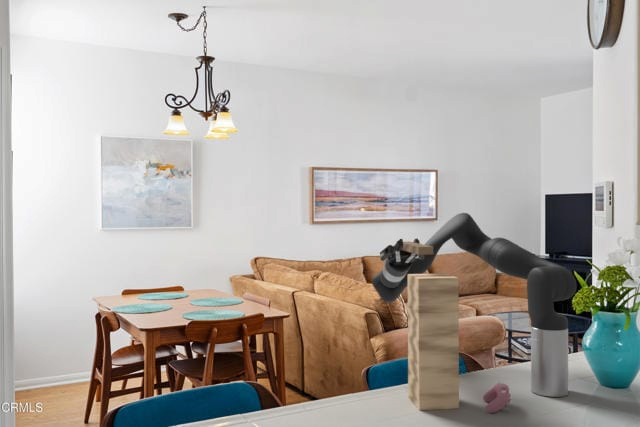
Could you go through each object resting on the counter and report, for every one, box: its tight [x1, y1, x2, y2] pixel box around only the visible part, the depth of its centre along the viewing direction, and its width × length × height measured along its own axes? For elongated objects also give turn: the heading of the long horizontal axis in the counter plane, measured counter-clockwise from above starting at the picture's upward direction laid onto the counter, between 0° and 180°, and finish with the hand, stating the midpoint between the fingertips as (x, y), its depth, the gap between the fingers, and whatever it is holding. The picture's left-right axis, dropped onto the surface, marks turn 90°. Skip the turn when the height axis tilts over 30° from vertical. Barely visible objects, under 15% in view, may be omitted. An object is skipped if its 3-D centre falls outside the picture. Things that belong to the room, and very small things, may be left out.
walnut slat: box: [401, 241, 433, 255], centre depth 169 cm, size 22×4×2 cm, turn 7°
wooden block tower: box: [406, 272, 460, 411], centre depth 153 cm, size 10×10×32 cm
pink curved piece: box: [482, 381, 512, 414], centre depth 149 cm, size 10×5×7 cm, turn 170°
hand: (409, 241), depth 173 cm, fingers closed on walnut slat, 4 cm apart
